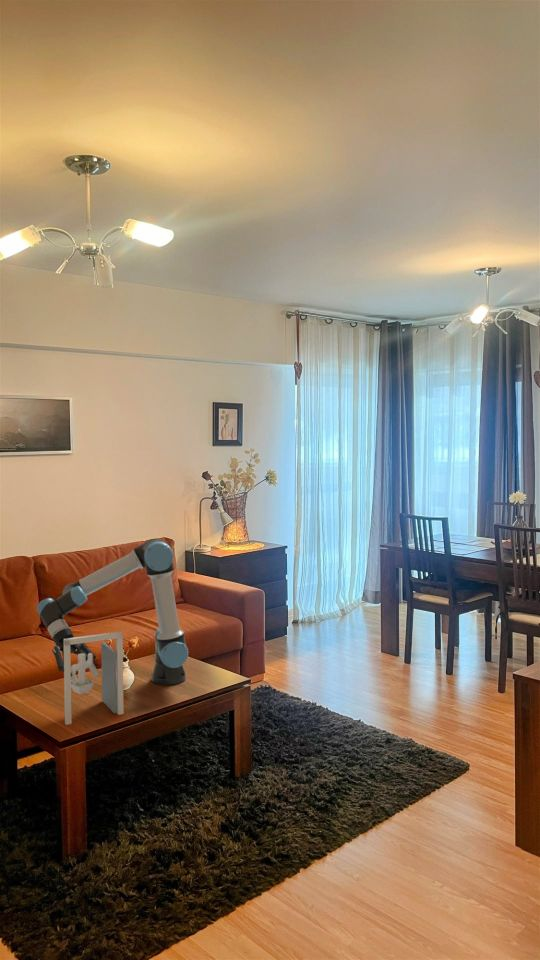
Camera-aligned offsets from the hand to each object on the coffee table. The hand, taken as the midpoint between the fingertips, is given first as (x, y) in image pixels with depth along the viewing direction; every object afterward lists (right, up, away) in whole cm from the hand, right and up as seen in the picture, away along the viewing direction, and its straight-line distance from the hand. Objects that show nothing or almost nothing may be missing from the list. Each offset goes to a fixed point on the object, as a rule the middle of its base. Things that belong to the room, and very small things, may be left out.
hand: (87, 679), depth 269 cm
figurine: (-3, -5, +2) cm, 6 cm away
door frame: (+4, -13, -4) cm, 15 cm away
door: (+8, -13, +7) cm, 16 cm away
